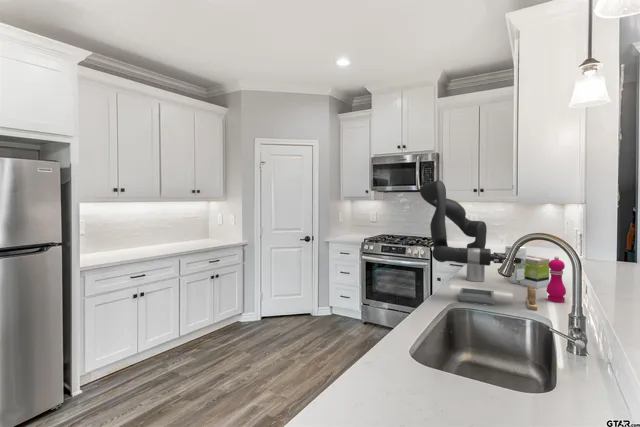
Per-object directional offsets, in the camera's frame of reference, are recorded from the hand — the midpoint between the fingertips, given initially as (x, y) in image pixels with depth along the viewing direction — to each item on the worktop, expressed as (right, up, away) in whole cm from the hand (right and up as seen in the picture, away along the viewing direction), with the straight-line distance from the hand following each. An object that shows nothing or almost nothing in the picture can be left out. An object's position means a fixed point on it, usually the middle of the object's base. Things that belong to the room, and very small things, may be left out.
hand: (520, 259), depth 151 cm
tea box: (+24, -18, +34) cm, 45 cm away
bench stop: (+4, -20, -1) cm, 20 cm away
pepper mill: (+19, -19, +5) cm, 27 cm away
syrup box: (-2, -9, +1) cm, 9 cm away
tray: (-15, -19, +8) cm, 26 cm away
